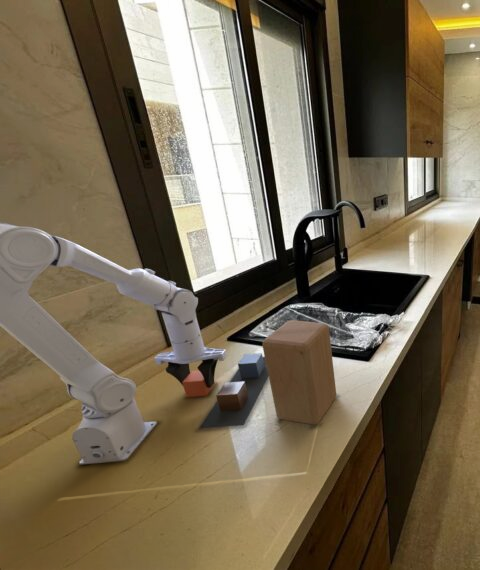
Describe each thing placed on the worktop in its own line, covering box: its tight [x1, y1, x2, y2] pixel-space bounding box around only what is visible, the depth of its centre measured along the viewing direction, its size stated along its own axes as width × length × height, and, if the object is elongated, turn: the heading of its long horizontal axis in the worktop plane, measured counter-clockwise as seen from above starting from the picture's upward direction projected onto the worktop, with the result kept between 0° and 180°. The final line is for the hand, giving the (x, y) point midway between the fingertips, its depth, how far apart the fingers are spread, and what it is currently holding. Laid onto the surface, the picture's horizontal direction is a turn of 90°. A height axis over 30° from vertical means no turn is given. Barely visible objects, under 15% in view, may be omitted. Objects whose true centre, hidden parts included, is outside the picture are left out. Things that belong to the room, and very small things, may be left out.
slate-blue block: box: [237, 352, 265, 378], centre depth 85 cm, size 4×4×4 cm
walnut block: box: [215, 381, 248, 411], centre depth 74 cm, size 4×4×4 cm
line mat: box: [198, 356, 269, 430], centre depth 81 cm, size 26×9×1 cm, turn 7°
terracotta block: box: [182, 370, 216, 398], centre depth 79 cm, size 4×4×4 cm
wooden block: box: [262, 319, 337, 426], centre depth 71 cm, size 10×10×20 cm
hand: (200, 385), depth 79 cm, fingers closed on terracotta block, 4 cm apart
